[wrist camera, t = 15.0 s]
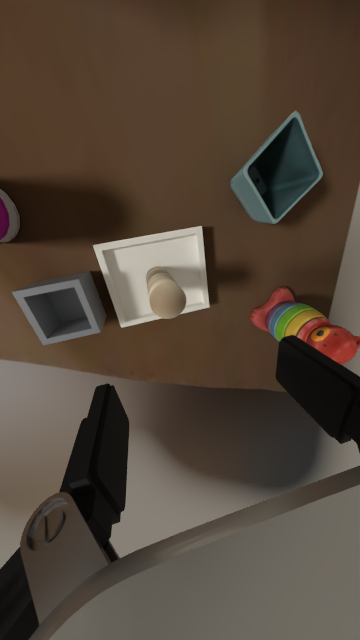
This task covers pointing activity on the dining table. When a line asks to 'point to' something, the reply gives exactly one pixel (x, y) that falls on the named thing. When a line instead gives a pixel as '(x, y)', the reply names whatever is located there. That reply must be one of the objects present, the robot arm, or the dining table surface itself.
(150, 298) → the birch peg
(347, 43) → the dining table surface
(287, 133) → the flower pot
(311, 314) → the stacking bear
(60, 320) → the grey open box
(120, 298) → the white tray
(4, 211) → the supplement can
